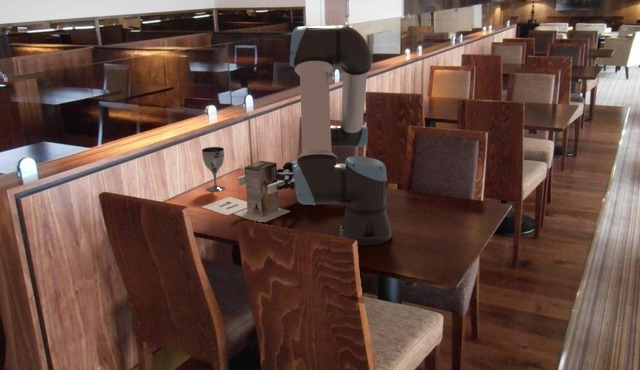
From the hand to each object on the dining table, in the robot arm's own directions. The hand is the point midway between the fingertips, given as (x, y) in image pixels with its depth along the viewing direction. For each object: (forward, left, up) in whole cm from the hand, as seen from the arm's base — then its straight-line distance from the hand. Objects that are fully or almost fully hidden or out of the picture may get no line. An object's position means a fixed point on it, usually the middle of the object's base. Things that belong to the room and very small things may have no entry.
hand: (253, 185), depth 190 cm
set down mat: (0, -3, -10) cm, 11 cm away
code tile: (+14, -1, -10) cm, 17 cm away
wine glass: (+32, -11, -10) cm, 36 cm away
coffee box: (0, -4, -10) cm, 11 cm away
